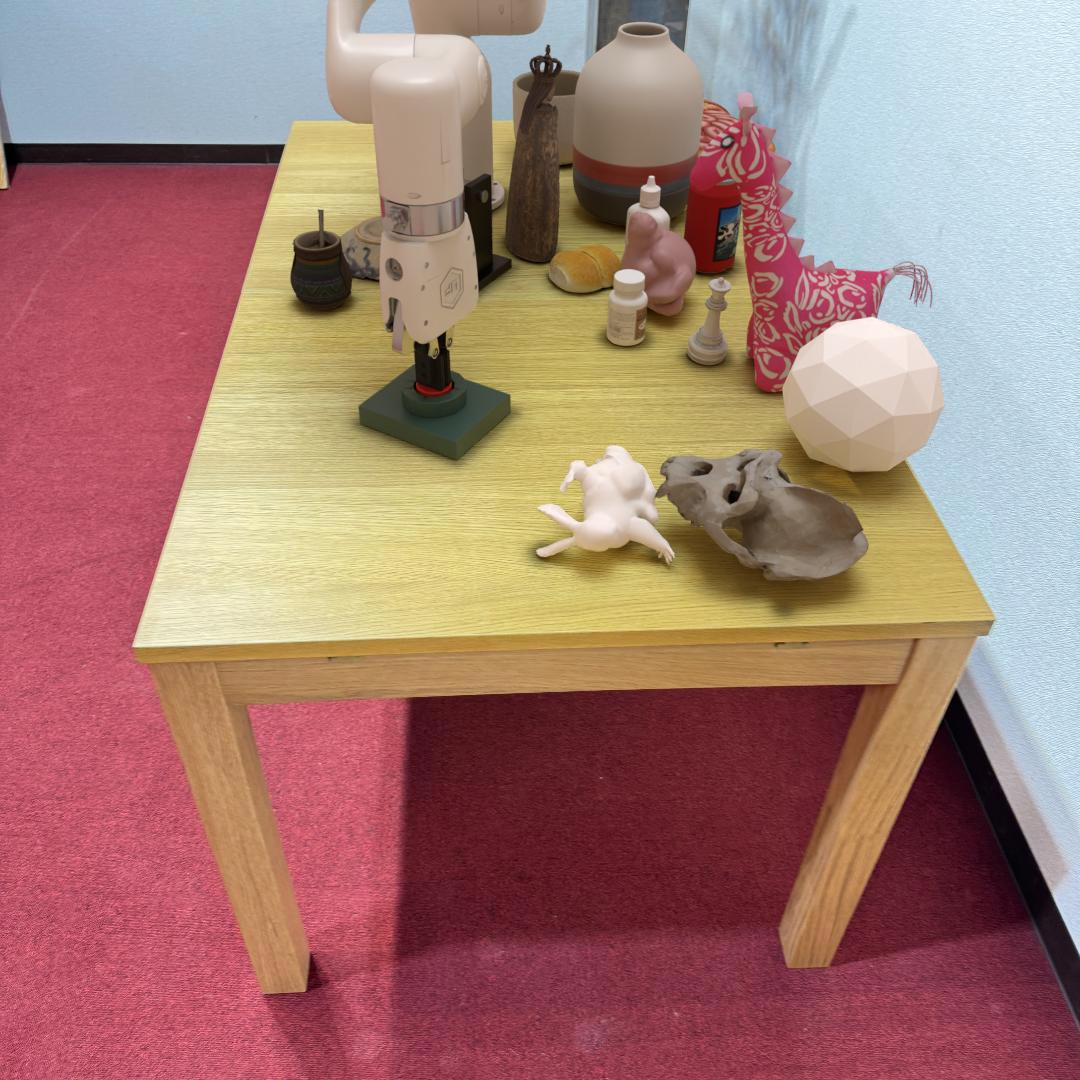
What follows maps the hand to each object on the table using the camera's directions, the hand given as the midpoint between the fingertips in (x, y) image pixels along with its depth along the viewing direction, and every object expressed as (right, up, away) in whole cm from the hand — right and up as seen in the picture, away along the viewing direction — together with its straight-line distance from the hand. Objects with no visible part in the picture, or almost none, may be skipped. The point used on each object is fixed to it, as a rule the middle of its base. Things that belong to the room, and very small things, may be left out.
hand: (433, 383), depth 109 cm
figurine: (+25, +12, +22) cm, 35 cm away
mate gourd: (-15, +13, +22) cm, 30 cm away
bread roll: (+16, +17, +27) cm, 35 cm away
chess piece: (+29, +5, +13) cm, 32 cm away
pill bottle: (+21, +7, +16) cm, 27 cm away
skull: (+24, -16, -8) cm, 30 cm away
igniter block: (0, -3, +3) cm, 4 cm away
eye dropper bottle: (+24, +19, +29) cm, 42 cm away
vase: (+24, +30, +42) cm, 57 cm away
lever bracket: (+2, +18, +27) cm, 32 cm away
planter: (+13, +43, +57) cm, 73 cm away
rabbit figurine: (+20, -13, -11) cm, 26 cm away
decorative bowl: (-9, +21, +32) cm, 39 cm away
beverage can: (+32, +20, +30) cm, 48 cm away
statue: (+10, +22, +33) cm, 41 cm away
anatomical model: (+41, +36, +44) cm, 70 cm away
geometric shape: (+41, +1, +1) cm, 41 cm away
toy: (+39, +2, +10) cm, 40 cm away
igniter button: (0, -1, +1) cm, 2 cm away
